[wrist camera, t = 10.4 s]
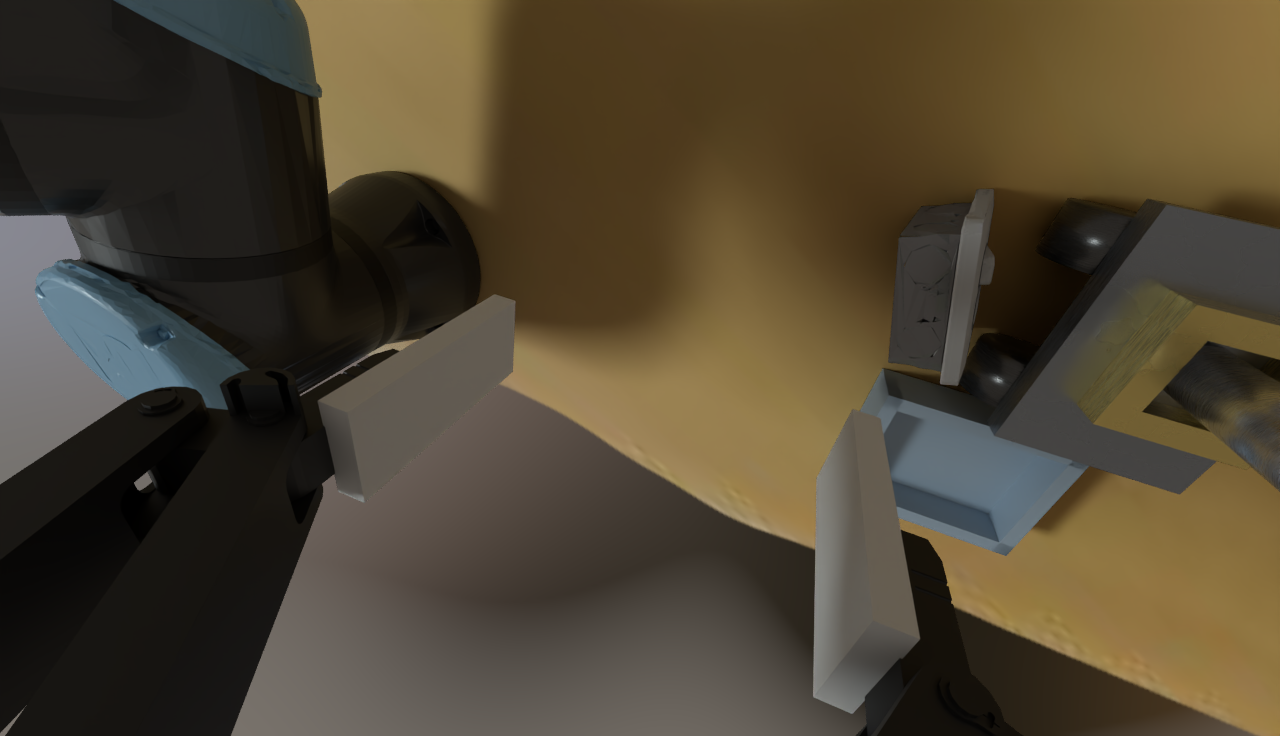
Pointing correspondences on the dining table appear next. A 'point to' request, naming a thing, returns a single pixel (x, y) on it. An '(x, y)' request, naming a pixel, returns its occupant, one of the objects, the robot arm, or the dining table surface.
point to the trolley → (1135, 339)
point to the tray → (962, 465)
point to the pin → (1233, 406)
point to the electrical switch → (941, 285)
